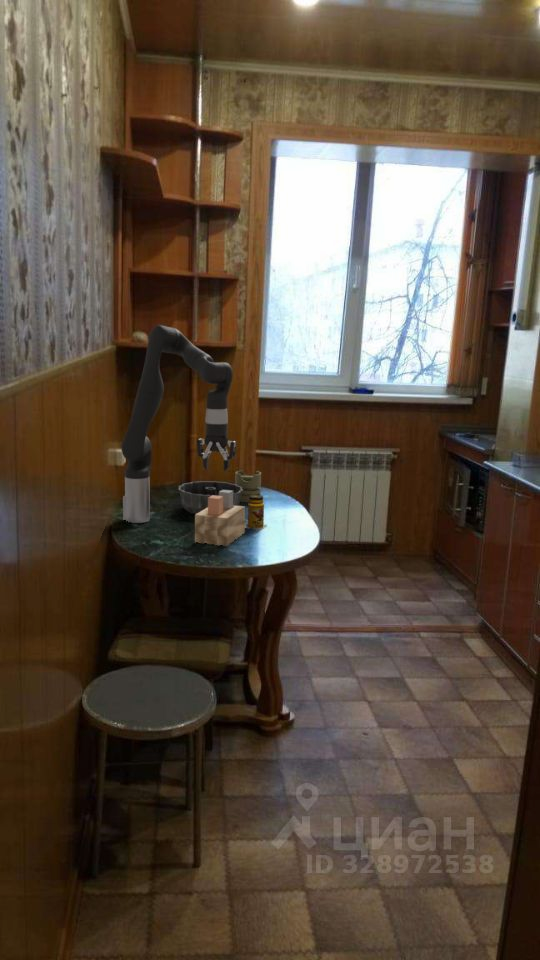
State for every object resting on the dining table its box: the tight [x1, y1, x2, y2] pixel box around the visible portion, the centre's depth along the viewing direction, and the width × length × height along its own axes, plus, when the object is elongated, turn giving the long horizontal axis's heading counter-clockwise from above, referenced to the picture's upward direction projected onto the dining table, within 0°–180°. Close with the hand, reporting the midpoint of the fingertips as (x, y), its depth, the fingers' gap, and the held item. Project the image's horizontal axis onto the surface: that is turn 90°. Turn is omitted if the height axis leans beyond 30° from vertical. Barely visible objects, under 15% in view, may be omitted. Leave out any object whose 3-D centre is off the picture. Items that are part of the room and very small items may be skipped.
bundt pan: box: [178, 480, 243, 514], centre depth 291 cm, size 26×26×10 cm
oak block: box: [194, 505, 246, 547], centre depth 254 cm, size 12×18×10 cm, turn 162°
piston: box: [234, 470, 262, 503], centre depth 313 cm, size 11×12×11 cm
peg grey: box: [219, 490, 233, 510], centre depth 257 cm, size 4×4×8 cm
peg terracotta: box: [208, 495, 223, 516], centre depth 248 cm, size 4×4×8 cm
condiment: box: [245, 495, 267, 530], centre depth 270 cm, size 7×8×12 cm
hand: (216, 469), depth 245 cm, fingers open, 6 cm apart
